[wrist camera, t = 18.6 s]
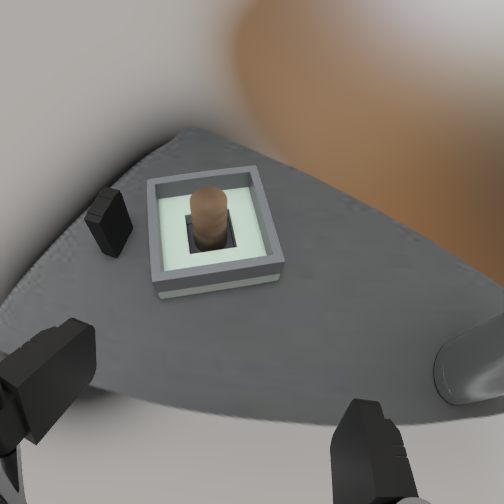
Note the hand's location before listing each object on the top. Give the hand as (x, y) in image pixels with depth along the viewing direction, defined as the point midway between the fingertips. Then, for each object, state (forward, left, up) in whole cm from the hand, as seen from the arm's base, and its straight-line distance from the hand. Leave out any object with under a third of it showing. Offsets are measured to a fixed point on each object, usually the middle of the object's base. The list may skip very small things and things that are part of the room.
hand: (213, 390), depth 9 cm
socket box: (-2, -20, -26) cm, 33 cm away
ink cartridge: (+10, -22, -26) cm, 36 cm away
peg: (-2, -20, -26) cm, 33 cm away
